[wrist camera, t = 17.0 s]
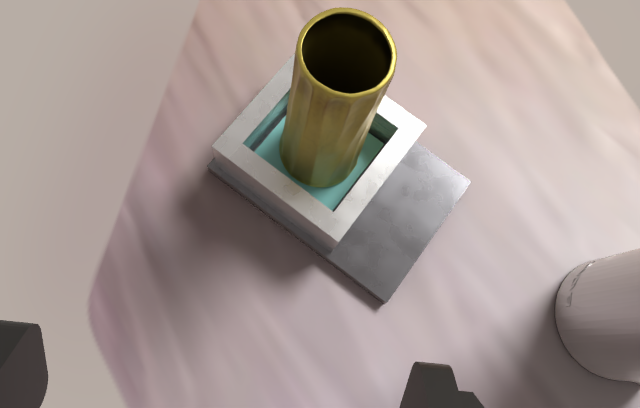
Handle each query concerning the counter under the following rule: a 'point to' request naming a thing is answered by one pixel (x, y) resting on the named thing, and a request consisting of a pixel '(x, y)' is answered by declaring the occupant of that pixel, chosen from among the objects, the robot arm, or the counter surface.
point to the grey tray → (360, 201)
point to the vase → (335, 94)
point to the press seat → (323, 194)
